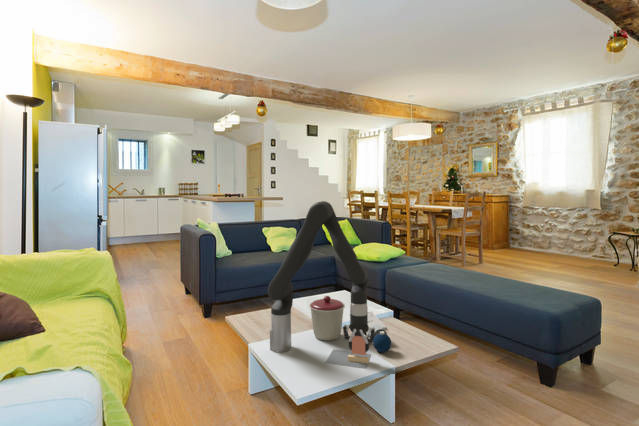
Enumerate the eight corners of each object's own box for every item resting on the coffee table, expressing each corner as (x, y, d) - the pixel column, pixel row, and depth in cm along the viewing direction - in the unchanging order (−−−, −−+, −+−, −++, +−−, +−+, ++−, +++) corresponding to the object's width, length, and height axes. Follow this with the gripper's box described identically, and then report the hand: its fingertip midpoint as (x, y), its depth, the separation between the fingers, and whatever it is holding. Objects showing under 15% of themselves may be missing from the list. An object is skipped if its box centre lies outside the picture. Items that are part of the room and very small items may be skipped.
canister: (326, 327, 199) (326, 289, 198) (352, 336, 186) (352, 296, 185) (302, 336, 187) (301, 296, 185) (327, 347, 174) (327, 304, 172)
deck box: (351, 353, 160) (351, 335, 159) (352, 351, 162) (352, 333, 161) (365, 355, 158) (365, 337, 158) (366, 353, 160) (366, 335, 159)
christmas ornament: (394, 354, 167) (395, 332, 166) (378, 357, 164) (378, 335, 163) (385, 346, 175) (385, 326, 174) (369, 349, 172) (369, 328, 171)
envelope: (361, 332, 193) (386, 330, 196) (361, 328, 193) (386, 326, 196) (349, 316, 217) (372, 314, 219) (349, 312, 217) (372, 311, 219)
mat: (324, 363, 158) (324, 358, 158) (333, 350, 171) (333, 345, 171) (366, 369, 152) (366, 364, 152) (371, 355, 166) (371, 349, 166)
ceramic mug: (380, 337, 186) (379, 322, 185) (387, 343, 178) (387, 328, 177) (360, 340, 183) (360, 325, 182) (367, 346, 175) (367, 331, 174)
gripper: (376, 311, 160) (376, 348, 161) (344, 308, 164) (344, 344, 166) (374, 316, 153) (374, 356, 154) (340, 313, 157) (340, 351, 158)
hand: (358, 350), depth 160 cm, fingers closed on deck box, 6 cm apart
